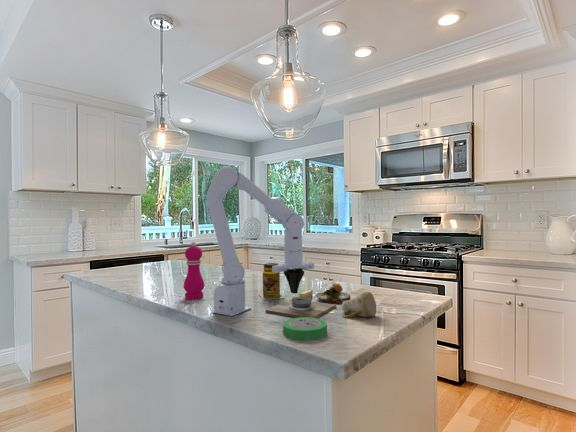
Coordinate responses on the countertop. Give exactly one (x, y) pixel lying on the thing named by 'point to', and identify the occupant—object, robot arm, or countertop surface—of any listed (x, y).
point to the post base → (301, 309)
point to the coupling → (303, 299)
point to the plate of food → (334, 294)
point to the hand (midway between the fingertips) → (294, 292)
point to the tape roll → (305, 328)
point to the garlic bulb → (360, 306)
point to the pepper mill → (193, 273)
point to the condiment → (271, 283)
